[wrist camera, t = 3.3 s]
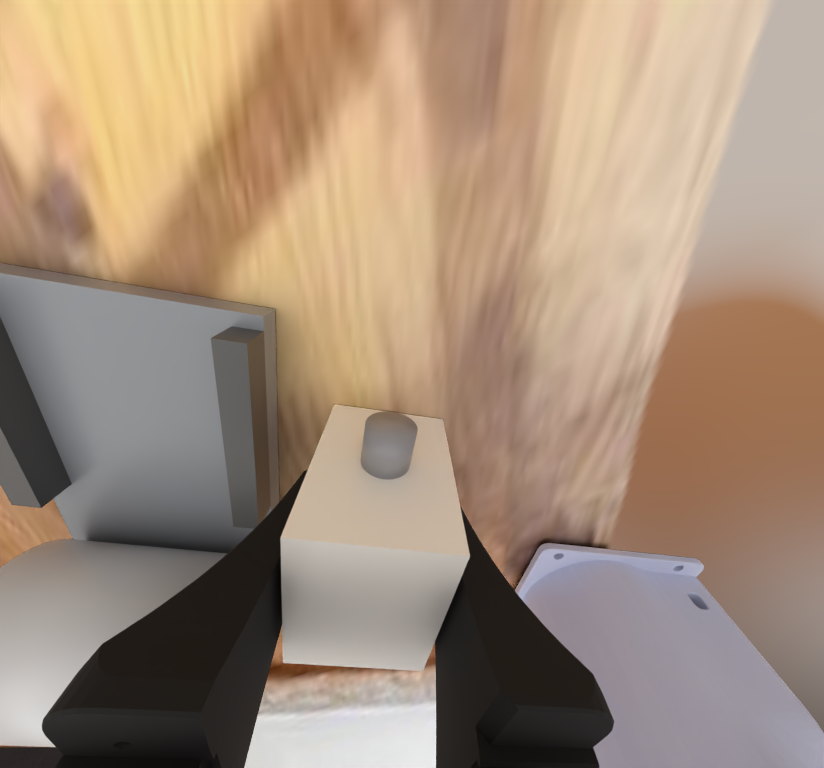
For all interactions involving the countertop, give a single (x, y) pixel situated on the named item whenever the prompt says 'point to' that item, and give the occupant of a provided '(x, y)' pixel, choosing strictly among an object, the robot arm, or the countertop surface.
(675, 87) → the countertop surface
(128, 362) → the motor mount
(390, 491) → the block
